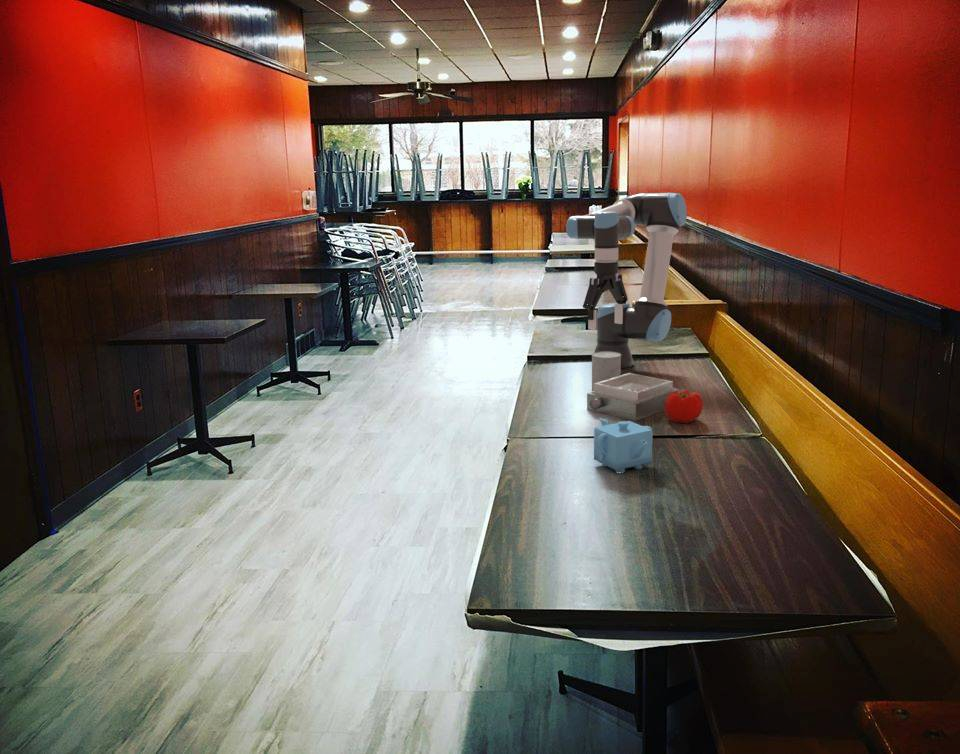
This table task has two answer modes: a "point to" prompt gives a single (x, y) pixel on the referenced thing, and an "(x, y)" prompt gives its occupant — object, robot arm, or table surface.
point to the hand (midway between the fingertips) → (605, 326)
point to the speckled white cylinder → (605, 366)
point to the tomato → (683, 406)
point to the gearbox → (630, 396)
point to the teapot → (623, 445)
